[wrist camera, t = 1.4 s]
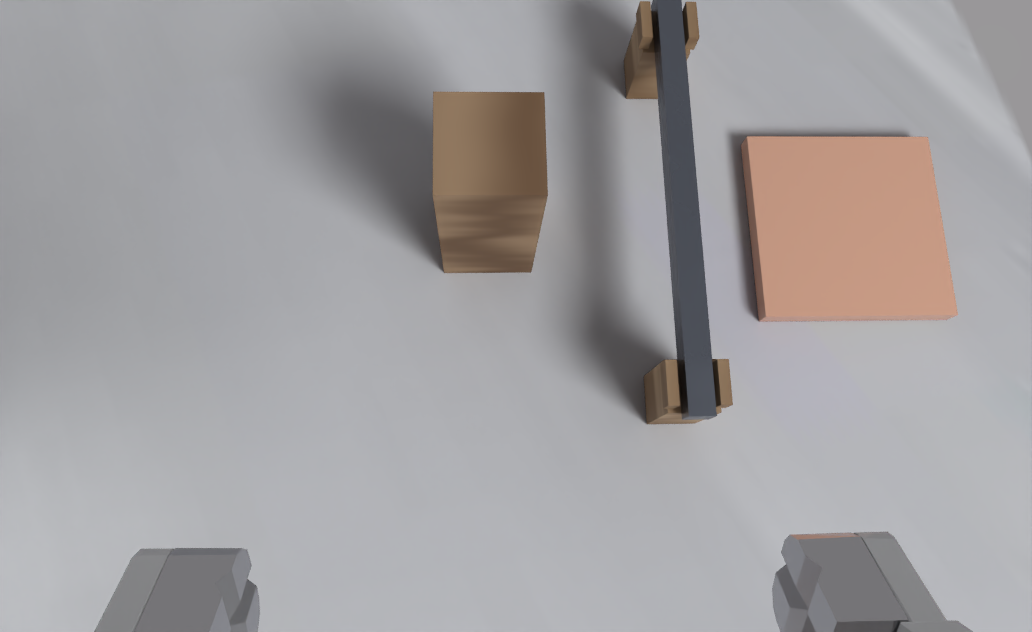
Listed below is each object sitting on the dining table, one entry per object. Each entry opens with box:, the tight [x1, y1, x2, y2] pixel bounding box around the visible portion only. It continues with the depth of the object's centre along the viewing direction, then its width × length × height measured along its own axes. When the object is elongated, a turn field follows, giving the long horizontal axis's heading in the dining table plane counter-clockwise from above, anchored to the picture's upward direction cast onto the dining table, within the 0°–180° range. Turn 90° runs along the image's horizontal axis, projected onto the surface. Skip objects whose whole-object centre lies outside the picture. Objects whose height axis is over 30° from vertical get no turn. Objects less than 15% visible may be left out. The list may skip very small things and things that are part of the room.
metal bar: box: [651, 0, 717, 420], centre depth 36 cm, size 1×21×1 cm, turn 1°
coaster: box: [741, 136, 958, 321], centre depth 41 cm, size 10×10×1 cm
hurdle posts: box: [624, 1, 733, 424], centre depth 38 cm, size 3×20×5 cm, turn 1°
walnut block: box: [433, 92, 548, 273], centre depth 35 cm, size 4×4×10 cm
